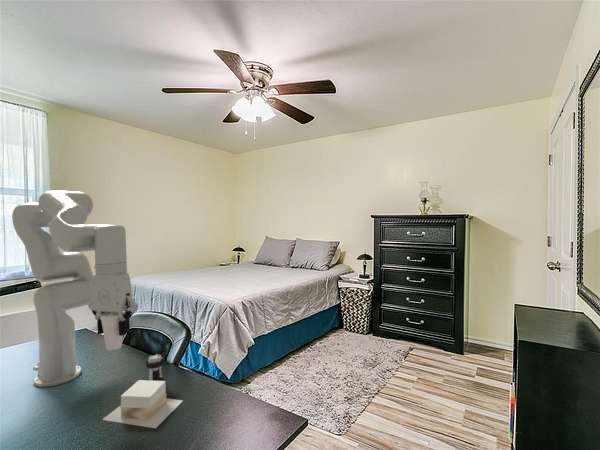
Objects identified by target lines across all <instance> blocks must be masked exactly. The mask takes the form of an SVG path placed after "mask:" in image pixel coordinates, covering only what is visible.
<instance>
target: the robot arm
mask: <svg viewBox="0 0 600 450" xmlns="http://www.w3.org/2000/svg"><path fill="white" fill-rule="evenodd" d="M37 200H38V201H37V202H25V203H21V204H18V205H17V206H15V207H14V208H13V211H12V216H11V217H12V225H13V228H14V230H15V232H16V234H17V236H18V238H19V239H20V240H21V241H22V243H23V245H24V247H25V250H26V254H27V259H28V262H29V265H30V269H31V273H32V275H33V278H34V279H35V280H36V281H38V282H40V283H47V284H45V285H43V286H40V287H39V288H37V290H35V291H34V294H33V304H34V309H35V312H36V317H37V326H38V327H37V328H38V329H37V331H38V357H39V358H38V359H39V362H38V363H37V364H36V365H35V366H33V369H32V370H33V371H35V372H36V371H37V375H36V376H35V377H34V379H33V385H34V386H36V387H39V388H42V387H43V388H47V387H54V386H59V385H62V384H65V383H68V382H70V381H72V380H74V379H76V378H77V377H79V376H80V374H81V373H82V367H81V366H80V365H77V362H76V360H77V359H76V330H75V329H76V328H75V327H76V326H75V325H76V323H75V321H74V319H73V318H72V317H71V316H70V315H68V314H67V311H69V310H72V309H76V308H81V307H85V306H87V307H88V308H89V309H90V311H91V313H92V314H93V315H94V316H95V317H94V319H95V320H97V321H96V323H97V324H96V325H97V335H102V334H104V333H103V327H102V321H101V319H100V314H102V313H104V312H118V315H119V317H120V320H121V321H119V335H120V336H122V335H123V336H125V335H126V334H129V333H130V331H131V329H130V328H131V327H130V319H131V318H132V316H133V315H134V314H135V312H136V311H137V309H139V305H138V304H137V302H136V301H135V300H134V299H133V289H132V288H133V287H132V283H131V282H132V281H131V279H130V274H129V272H128V262H127V261H128V256H127V234H126V233H127V231H126V227H125V226H124V225H122V224H108V223H107V224H104V223H103V224H97V223H96V224H85V223H86V222H87V221H88V216H90V215H91V213H92V211H93V208H94V203H93V199H92V198H91V196H90V195H89V194H87V193H86V192H83V191H75V190H74V191H71V190H56V189H55V190H54V189H53V190H48V191H45V192H43V193H42V194H40V196H39V197H38V199H37ZM42 228H49V232H47V231H45V230H44V229H42ZM60 249H61V250H63V251H65V252H63V251H61V250H60ZM92 251H94V267H93V268H94V270H95V274H93V270H92V267H91V265H90V261H89V259H88V257H87V255H85V254H84V253H83V252H92ZM69 279H72V280H69ZM62 280H63V281H62ZM64 280H66V281H64ZM57 281H60V282H57ZM48 282H49V284H48ZM50 282H54V283H50ZM123 311H124V312H125V315H124V313H123Z"/></svg>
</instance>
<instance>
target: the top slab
mask: <svg viewBox="0 0 600 450" xmlns="http://www.w3.org/2000/svg"><path fill="white" fill-rule="evenodd" d="M166 387H167V386H166V380H165V381H150V380H149V379H148V380H146V379H145V380H144V379H138V380H137V381H136V382H135V383H134V384H132V386H131V387H128V389H127V390H126V391H124V392H123V394H121V395H120V405H121V407H128V408H151V407H152V406H153V405H154V404H155V403H156V402H157V400H158V399H159V398H160V397H161V396H162V395H163V394H164V393H165V392H166V391H167V390H166V389H167V388H166Z"/></svg>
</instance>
